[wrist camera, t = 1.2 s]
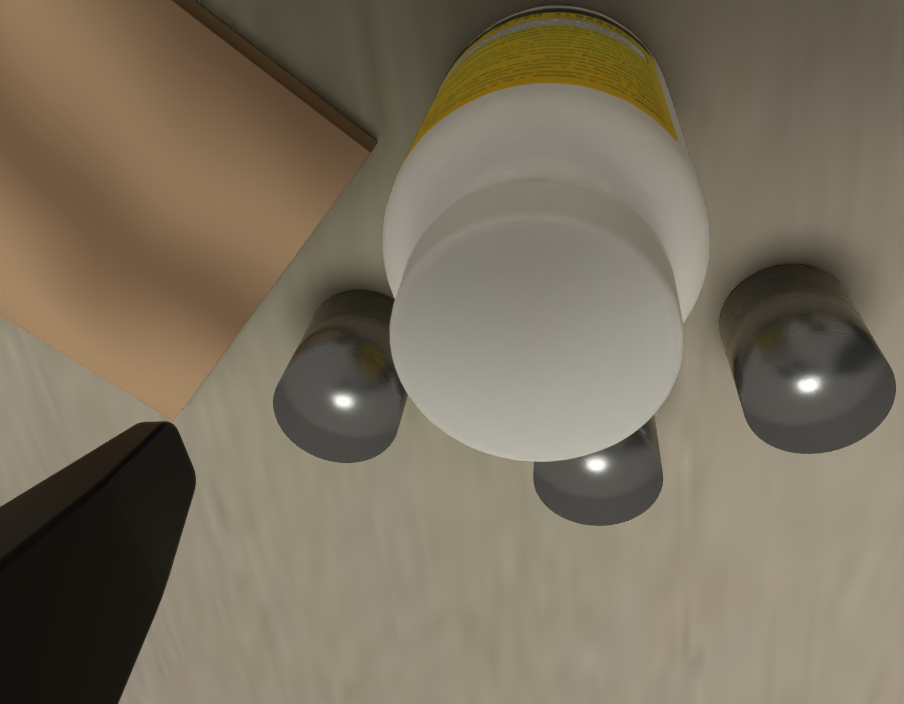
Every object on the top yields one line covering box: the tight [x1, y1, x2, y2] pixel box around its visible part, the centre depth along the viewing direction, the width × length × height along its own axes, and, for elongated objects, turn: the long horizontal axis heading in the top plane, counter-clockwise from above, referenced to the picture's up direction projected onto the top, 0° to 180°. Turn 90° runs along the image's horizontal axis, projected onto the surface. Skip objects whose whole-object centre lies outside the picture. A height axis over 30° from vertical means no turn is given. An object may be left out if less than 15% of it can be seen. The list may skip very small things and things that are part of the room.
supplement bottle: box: [383, 6, 710, 462], centre depth 15 cm, size 5×5×10 cm
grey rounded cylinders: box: [273, 264, 896, 526], centre depth 17 cm, size 19×19×4 cm
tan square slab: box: [0, 0, 377, 421], centre depth 20 cm, size 11×11×1 cm
